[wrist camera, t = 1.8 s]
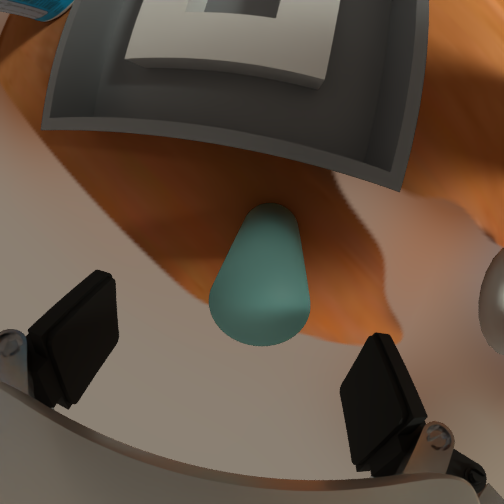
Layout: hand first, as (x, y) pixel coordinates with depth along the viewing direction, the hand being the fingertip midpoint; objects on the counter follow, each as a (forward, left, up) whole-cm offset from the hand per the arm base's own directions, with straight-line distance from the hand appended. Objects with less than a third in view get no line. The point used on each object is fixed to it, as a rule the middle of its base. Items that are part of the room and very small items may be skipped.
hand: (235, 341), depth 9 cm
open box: (-7, -16, -12) cm, 21 cm away
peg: (-1, 0, -12) cm, 12 cm away
